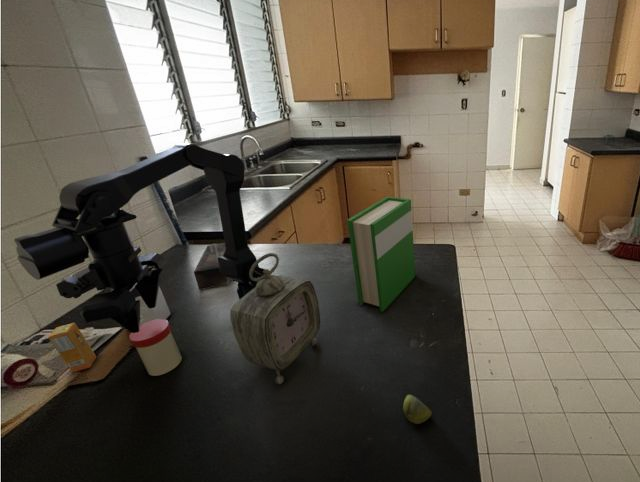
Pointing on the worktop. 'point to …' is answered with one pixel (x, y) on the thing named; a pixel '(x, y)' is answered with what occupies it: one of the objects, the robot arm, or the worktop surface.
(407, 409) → the lime
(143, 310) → the jar
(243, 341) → the tabletop clock
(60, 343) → the supplement box
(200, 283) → the beverage carton
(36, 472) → the worktop surface
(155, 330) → the jam lid
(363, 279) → the hardback book
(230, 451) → the worktop surface
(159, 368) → the jam jar
